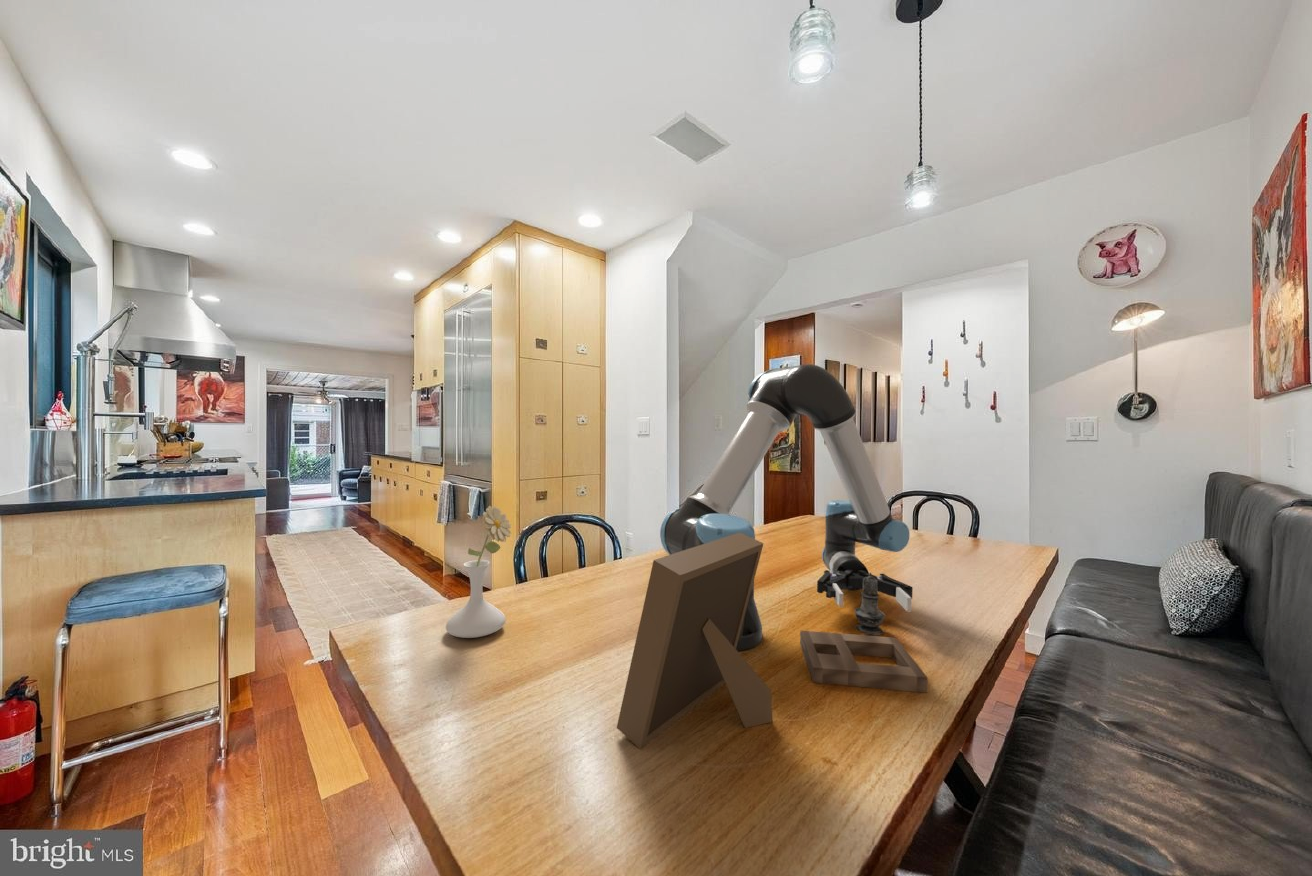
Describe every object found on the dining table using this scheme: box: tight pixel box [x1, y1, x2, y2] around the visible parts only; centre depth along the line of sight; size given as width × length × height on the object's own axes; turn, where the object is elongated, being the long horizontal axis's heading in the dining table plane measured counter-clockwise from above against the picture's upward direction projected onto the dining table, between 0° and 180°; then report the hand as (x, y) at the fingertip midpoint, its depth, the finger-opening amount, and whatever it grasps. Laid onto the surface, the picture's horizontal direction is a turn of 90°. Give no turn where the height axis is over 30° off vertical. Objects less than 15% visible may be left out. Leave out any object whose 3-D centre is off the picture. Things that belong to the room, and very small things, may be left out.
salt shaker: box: [853, 572, 886, 636], centre depth 100 cm, size 6×6×12 cm
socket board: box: [799, 630, 928, 694], centre depth 85 cm, size 18×14×2 cm
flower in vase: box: [445, 505, 512, 639], centre depth 97 cm, size 13×11×25 cm
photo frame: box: [616, 533, 774, 750], centre depth 68 cm, size 15×22×25 cm
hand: (874, 602), depth 96 cm, fingers open, 12 cm apart
